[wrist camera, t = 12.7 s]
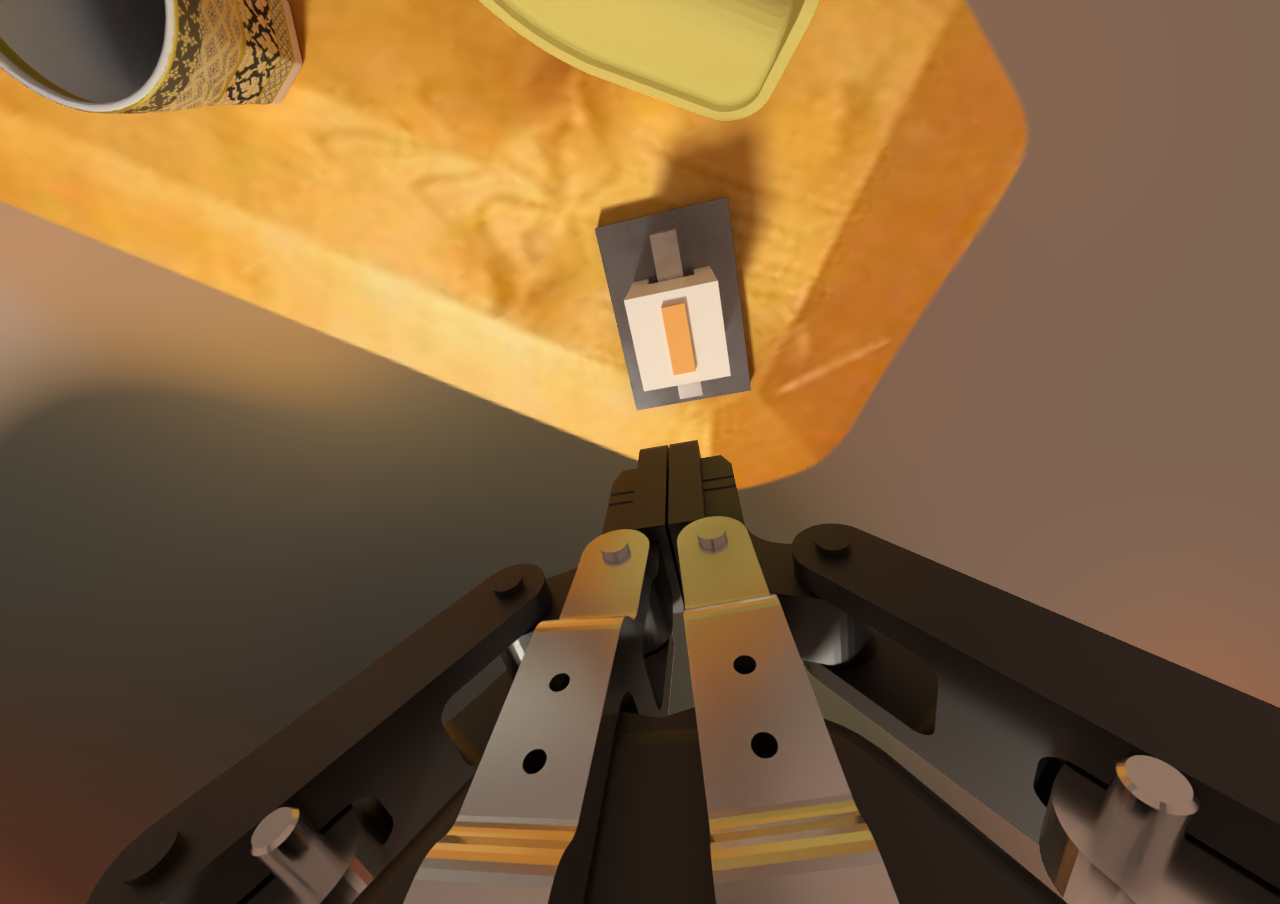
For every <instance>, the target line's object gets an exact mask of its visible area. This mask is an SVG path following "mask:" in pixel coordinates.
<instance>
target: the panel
mask: <svg viewBox="0 0 1280 904" xmlns="http://www.w3.org/2000/svg"><path fill="white" fill-rule="evenodd" d="M595 231H596V236H597V240H598V244H599V249H600V253H601V257H602V262H603V266H604V270H605V275H606V279H607V283H608V288H609V292H610V296H611V301H612V305H613V309H614V313H615V318H616V322H617V326H618V331H619V335H620V339H621V344H622V348H623V352H624V357H625V361H626V365H627V370H628V374H629V378H630V383H631V387H632V391H633V396H634V400H635V404H636V409H637V410H641V409H647V408H653V407H658V406H664V405H670V404H675V403H681V402H687V401H692V400H698V399H704V398H710V397H715V396H721V395H727V394H732V393H738V392H744V391H749V390H751V387H750V378H749V370H748V362H747V353H746V345H745V337H744V328H743V320H742V311H741V303H740V295H739V286H738V278H737V270H736V261H735V253H734V244H733V236H732V228H731V219H730V211H729V203H728V197H724V198H720V199H716V200H712V201H708V202H703V203H699V204H695V205H691V206H686V207H682V208H678V209H674V210H669V211H665V212H661V213H657V214H652V215H648V216H644V217H640V218H635V219H631V220H627V221H623V222H618V223H614V224H610V225H606V226H601V227H597V228H595ZM706 266H710V268H711V269H712V271H713V273H714V275H715V276H716V278H717V280H718V286H719V293H720V300H721V308H722V315H723V322H724V330H725V337H726V344H727V352H728V359H729V366H730V374H731V376H727V377H722V378H716V379H711V380H705V381H700V382H694V383H689V384H683V385H678V386H672V387H667V388H661V389H655V390H650V391H644V389H643V385H642V380H641V376H640V371H639V367H638V362H637V358H636V353H635V349H634V344H633V339H632V335H631V330H630V326H629V321H628V317H627V312H626V308H625V303H624V299H625V297H626V295H627V293H628V292H629V290H630V288H631V286H632V284H633V282H637V281H641V280H646V279H649V282H650V284H653V283H657V282H662V281H667V280H671V279H676V278H681V277H685V276H690V275H694V270H693V269H697V268H701V267H706Z"/></svg>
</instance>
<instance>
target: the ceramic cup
mask: <svg viewBox="0 0 1280 904" xmlns="http://www.w3.org/2000/svg"><path fill="white" fill-rule="evenodd" d="M0 67H1V68H2V69H3V70H4V71H6V72H7V73H8V74H9V75H11V76H12V77H13V78H15V79H16V80H18V81H19V82H20V83H22V84H23V85H25V86H26V87H28V88H29V89H31V90H33V91H34V92H36V93H38V94H40V95H41V96H43V97H45V98H48V99H50V100H52V101H54V102H56V103H58V104H61V105H64V106H67V107H70V108H73V109H76V110H81V111H85V112H92V113H153V112H170V111H180V110H187V109H193V108H199V107H204V106H211V105H238V104H279V103H281V102H282V100H283V99H284V97H285V95H286V93H287V92H288V90H289V88H290V87H291V85H292V83H293V81H294V80H295V78H296V76H297V74H298V73H299V71H300V69H301V67H302V58H301V54H300V49H299V44H298V40H297V35H296V30H295V26H294V21H293V16H292V12H291V8H290V5H289V3H288V1H287V0H0Z"/></svg>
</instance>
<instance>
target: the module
mask: <svg viewBox="0 0 1280 904" xmlns="http://www.w3.org/2000/svg"><path fill="white" fill-rule="evenodd" d="M693 270H694V275H690V276H685V277H681V278H676V279H671V280H667V281H662V282H657V283H653V284H650V282H649V279H646V280H641V281H637V282H633V284H632V286H631V288H630V290H629V292H628V293H627V295H626V297H625V299H624V303H625V308H626V312H627V317H628V321H629V326H630V330H631V335H632V339H633V344H634V349H635V353H636V358H637V362H638V367H639V371H640V376H641V380H642V385H643V389H644V391H650V390H655V389H661V388H667V387H672V386H678V385H683V384H689V383H694V382H700V381H705V380H711V379H716V378H722V377H727V376H731V374H730V366H729V359H728V352H727V344H726V337H725V330H724V322H723V315H722V308H721V300H720V293H719V286H718V280H717V278H716V276H715V275H714V273H713V271H712V269H711V268H710V266H706V267H701V268H697V269H693Z"/></svg>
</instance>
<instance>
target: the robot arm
mask: <svg viewBox="0 0 1280 904" xmlns="http://www.w3.org/2000/svg"><path fill="white" fill-rule="evenodd" d="M685 608H686V609H685ZM680 612H683V613H684V623H685V630H686V639H687V647H688V655H689V663H690V671H691V679H692V688H693V695H694V704H695V707H694V708H691V709H688V710H685V711H682V712H679V713H676V714H673V715H670V716H668V712H669V701H670V690H671V678H672V668H673V655H674V638H673V634H672V628H673V613H680ZM499 655H500V656H501V658H502V660H503V662H504V664H505V666H506V668H507V671H505V672H504V673H503V674H502V675H501V676H500V677H498V678H497V679H496V680H495V681H494V682H493V683H492V684H491V685H490V686H488V687H487V688H486V689H485V690H484V691H483V692H482V693H481V694H479V695H478V696H477V697H476V698H475V699H474V700H473V701H472V702H471V703H469V704H468V705H467V706H466V707H465V708H464V709H463V710H462V711H460V712H459V713H458V714H457V715H456V716H455V717H454V718H452V719H451V720H450V721H448V722H446V723H444V724H442V721H441V715H442V711H443V708H444V706H445V704H446V703H447V701H448V700H449V699H450V697H451V696H452V695H453V694H454V693H456V692H457V691H458V690H459V689H460V688H461V687H463V686H464V685H465V684H466V683H467V682H468V681H470V680H471V679H472V678H473V677H474V676H475V675H477V674H478V673H479V672H480V671H481V670H482V669H484V668H485V667H486V666H487V665H488V664H489V663H491V662H492V661H493V660H494V659H495V658H496V657H497V656H499ZM801 660H803V662H804V665H805V666H806V668H807V670H808V671H809V672H810V673H811V674H812V675H813V676H814V677H815V678H816V679H818V680H819V681H820V682H822V683H823V684H824V685H826V686H827V687H828V688H830V689H831V690H832V691H834V692H835V693H836V694H838V695H839V696H840V697H842V698H843V699H844V700H846V701H847V702H848V703H850V704H851V705H852V706H854V707H855V708H856V709H858V710H859V711H860V712H862V713H863V714H865V715H866V716H867V717H869V718H870V719H871V720H873V721H874V722H875V723H877V724H878V725H879V726H881V727H882V728H883V729H885V730H886V731H887V732H889V733H890V734H891V735H893V736H894V737H895V738H897V739H898V740H899V741H901V742H902V743H904V744H905V745H906V746H907V747H909V748H910V749H911V750H913V751H914V752H915V753H917V754H918V755H919V756H921V757H922V758H923V759H925V760H926V761H927V762H929V763H930V764H931V765H933V766H934V767H935V768H937V769H938V770H939V771H941V772H942V773H943V774H945V775H946V776H948V777H949V778H950V779H952V780H953V781H954V782H956V783H957V784H958V785H960V786H961V787H962V788H964V789H965V790H966V791H968V792H969V793H970V794H972V795H973V796H974V797H976V798H977V799H978V800H980V801H981V802H982V803H984V804H985V805H986V806H988V807H989V808H991V809H992V810H993V811H994V812H996V813H997V814H998V815H1000V816H1001V817H1003V818H1004V819H1005V820H1006V821H1008V822H1009V823H1010V824H1012V825H1013V826H1014V827H1016V828H1017V829H1018V830H1020V831H1021V832H1023V833H1024V834H1025V835H1026V836H1028V837H1029V838H1030V839H1032V840H1033V841H1035V842H1036V843H1038V844H1039V851H1040V854H1041V859H1042V863H1043V865H1044V867H1045V870H1046V872H1047V874H1048V876H1049V878H1050V880H1051V881H1052V883H1053V885H1054V887H1055V888H1056V889H1057V891H1058V892H1059V894H1060V895H1061V896H1062V898H1063V899H1064V900H1065V901H1066V902H1067V903H1066V902H1065V901H1064V900H1063V899H1062V898H1060V897H1059V896H1058V895H1057V894H1056V893H1054V892H1053V891H1052V890H1051V889H1050V888H1048V887H1047V886H1046V885H1045V884H1044V883H1042V882H1041V881H1040V880H1039V879H1038V878H1036V877H1035V876H1034V875H1033V874H1032V873H1030V872H1029V871H1028V870H1027V869H1026V868H1024V867H1023V866H1022V865H1021V864H1019V863H1018V862H1017V861H1016V860H1015V859H1013V858H1012V857H1011V856H1010V855H1009V854H1007V853H1006V852H1005V851H1004V850H1003V849H1001V848H1000V847H999V846H998V845H997V844H995V843H994V842H993V841H992V840H991V839H989V838H988V837H987V836H986V835H985V834H983V833H982V832H981V831H980V830H978V829H977V828H976V827H975V826H974V825H972V824H971V823H970V822H969V821H968V820H966V819H965V818H964V817H963V816H962V815H960V814H959V813H958V812H957V811H956V810H954V809H953V808H952V807H951V806H950V805H948V804H947V803H946V802H945V801H943V800H942V799H941V798H940V797H939V796H938V795H936V794H935V793H934V792H933V791H931V790H930V789H929V788H928V787H927V786H926V785H924V784H923V783H922V782H921V781H919V780H918V779H917V778H916V777H915V776H913V775H912V774H911V773H910V772H908V771H907V770H906V769H905V768H903V766H901V765H900V764H899V763H898V762H897V761H895V760H894V759H893V758H892V757H890V756H889V755H888V754H887V753H885V752H884V751H883V750H882V749H880V748H879V747H877V746H876V745H874V744H873V743H871V742H870V741H868V740H867V739H865V738H864V737H862V736H861V735H859V734H857V733H855V732H853V731H851V730H849V729H847V728H845V727H844V726H841V725H839V724H837V723H834V722H832V721H829V720H827V719H823V717H822V714H821V712H820V709H819V706H818V704H817V701H816V698H815V695H814V693H813V690H812V687H811V685H810V682H809V679H808V677H807V674H806V671H805V669H804V666H803V663H802V661H801ZM87 904H1280V708H1278V707H1276V706H1274V705H1272V704H1269V703H1267V702H1264V701H1262V700H1260V699H1257V698H1255V697H1253V696H1250V695H1248V694H1246V693H1243V692H1241V691H1239V690H1236V689H1234V688H1231V687H1229V686H1227V685H1224V684H1222V683H1220V682H1217V681H1215V680H1212V679H1210V678H1208V677H1206V676H1203V675H1201V674H1198V673H1196V672H1194V671H1191V670H1189V669H1187V668H1184V667H1182V666H1180V665H1177V664H1175V663H1173V662H1170V661H1168V660H1166V659H1163V658H1161V657H1159V656H1156V655H1154V654H1151V653H1149V652H1147V651H1144V650H1142V649H1140V648H1137V647H1135V646H1133V645H1130V644H1128V643H1126V642H1123V641H1121V640H1118V639H1116V638H1114V637H1111V636H1109V635H1107V634H1104V633H1102V632H1099V631H1097V630H1095V629H1093V628H1090V627H1088V626H1085V625H1083V624H1081V623H1078V622H1076V621H1074V620H1071V619H1069V618H1067V617H1064V616H1062V615H1059V614H1057V613H1055V612H1052V611H1050V610H1048V609H1045V608H1043V607H1040V606H1038V605H1036V604H1034V603H1031V602H1029V601H1027V600H1024V599H1022V598H1020V597H1017V596H1015V595H1012V594H1010V593H1008V592H1005V591H1003V590H1001V589H998V588H996V587H993V586H991V585H989V584H986V583H984V582H982V581H979V580H977V579H975V578H972V577H970V576H968V575H965V574H963V573H961V572H958V571H956V570H954V569H951V568H949V567H946V566H944V565H942V564H939V563H937V562H935V561H932V560H930V559H928V558H925V557H923V556H921V555H918V554H916V553H913V552H911V551H909V550H906V549H904V548H902V547H899V546H897V545H895V544H892V543H890V542H888V541H885V540H883V539H881V538H878V537H876V536H873V535H871V534H869V533H866V532H864V531H862V530H859V529H857V528H854V527H851V526H847V525H842V524H821V525H816V526H812V527H809V528H807V529H805V530H803V531H802V532H800V533H799V534H798V535H797V536H796V537H795V538H794V540H793V542H792V544H782V543H774V542H769V541H765V540H763V539H760V538H758V537H756V536H754V535H753V534H752V533H750V531H749V530H748V529H747V528H746V526H745V524H744V520H743V515H742V511H741V507H740V502H739V497H738V492H737V488H736V483H735V479H734V474H733V469H732V465H731V463H730V462H728V461H727V460H726V459H725V458H724V457H722V456H721V455H719V456H713V457H706V458H701V456H700V450H699V445H698V441H697V440H695V441H689V442H683V443H677V444H670V446H669V447H668V445H665V446H659V447H653V448H647V449H641V450H640V452H639V460H638V467H637V469H632V470H626V471H623V472H622V473H621V474H620V475H619V476H618V477H617V479H616V480H615V481H614V482H613V485H612V490H611V497H610V500H609V506H608V509H607V513H606V518H605V523H604V527H603V532H602V535H601V536H599V537H597V538H596V539H594V540H593V541H592V542H591V543H590V544H589V545H588V546H587V547H586V549H585V550H584V552H583V555H582V557H581V560H580V563H579V566H578V567H576V568H575V569H572V570H570V571H567V572H564V573H562V574H559V575H556V576H553V577H551V578H548V579H546V578H545V575H544V573H543V571H542V570H541V568H539V567H538V566H535V565H532V564H518V565H513V566H510V567H507V568H505V569H502V570H500V571H498V572H496V573H495V574H494V575H492V576H490V577H489V578H488V579H486V580H485V581H484V582H482V583H481V584H480V585H478V586H477V587H476V588H474V589H473V590H471V591H470V592H469V593H468V594H466V595H465V596H464V597H462V598H460V599H459V600H458V601H456V602H455V603H454V604H452V605H451V606H450V607H448V608H447V609H445V610H444V611H443V612H441V613H440V614H439V615H437V616H436V617H435V618H433V619H432V620H430V621H429V622H428V623H426V624H425V625H424V626H423V627H421V628H420V629H418V630H417V631H416V632H414V633H413V634H411V635H410V636H409V637H407V638H406V639H405V640H404V641H402V642H401V643H399V644H398V645H396V646H395V647H394V648H392V649H391V650H390V651H388V652H387V653H386V654H384V655H383V656H382V657H380V658H379V659H377V660H376V661H375V662H373V663H372V664H371V665H369V666H368V667H366V668H365V669H364V670H362V671H361V672H360V673H358V674H357V675H356V676H354V677H353V678H352V679H350V680H349V681H347V682H346V683H345V684H343V685H342V686H341V687H339V688H338V689H337V690H335V691H334V692H332V693H331V694H330V695H328V696H327V697H326V698H324V699H323V700H322V701H320V702H319V703H317V704H316V705H315V706H313V707H312V708H311V709H309V710H308V711H307V712H305V713H304V714H303V715H301V716H300V717H298V718H297V719H296V720H295V721H293V722H292V723H291V724H289V725H288V726H286V727H285V728H284V729H282V730H281V731H279V732H278V733H277V734H275V735H274V736H273V737H271V738H270V739H268V740H267V741H266V742H264V743H263V744H262V745H260V746H259V747H258V748H256V749H255V750H254V751H252V752H251V753H249V754H248V755H247V756H245V757H244V758H243V759H241V760H240V761H239V762H237V763H236V764H234V765H233V766H232V767H230V768H229V769H228V770H226V771H225V772H224V773H222V774H221V775H219V776H218V777H217V778H215V779H214V780H213V781H211V782H210V783H209V784H207V785H206V786H205V787H203V788H202V789H200V790H199V791H198V792H196V793H195V794H194V795H192V796H191V797H190V798H188V799H187V800H185V801H184V802H183V803H181V804H180V805H179V806H177V807H176V808H174V809H173V810H172V811H170V812H169V813H168V814H166V815H165V816H164V817H162V818H161V819H160V820H158V821H157V822H155V823H154V824H153V825H151V826H150V827H149V828H148V829H147V830H145V831H144V832H143V833H141V834H140V835H139V836H138V837H137V838H136V839H135V840H134V841H132V842H131V843H130V844H129V845H128V846H127V847H126V848H125V849H124V850H123V851H122V852H121V853H120V854H119V856H118V857H117V858H116V859H115V860H114V861H113V862H112V864H111V865H110V866H109V867H108V869H107V870H106V871H105V872H104V874H103V875H102V877H101V878H100V880H99V881H98V883H97V884H96V886H95V888H94V889H93V892H92V893H91V895H90V897H89V900H88V902H87Z"/></svg>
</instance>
